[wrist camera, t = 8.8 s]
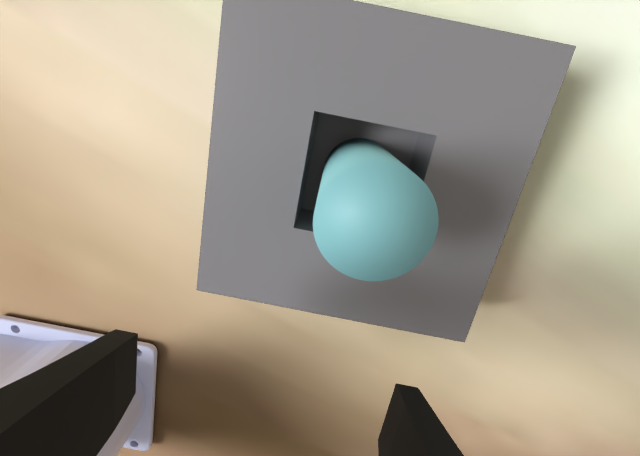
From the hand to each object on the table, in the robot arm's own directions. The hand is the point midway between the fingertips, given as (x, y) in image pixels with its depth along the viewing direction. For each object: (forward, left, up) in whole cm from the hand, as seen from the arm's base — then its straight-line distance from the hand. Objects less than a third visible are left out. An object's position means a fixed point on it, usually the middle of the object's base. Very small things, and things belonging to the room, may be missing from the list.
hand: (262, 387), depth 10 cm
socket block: (+2, +5, -9) cm, 11 cm away
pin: (+2, +5, -9) cm, 10 cm away
